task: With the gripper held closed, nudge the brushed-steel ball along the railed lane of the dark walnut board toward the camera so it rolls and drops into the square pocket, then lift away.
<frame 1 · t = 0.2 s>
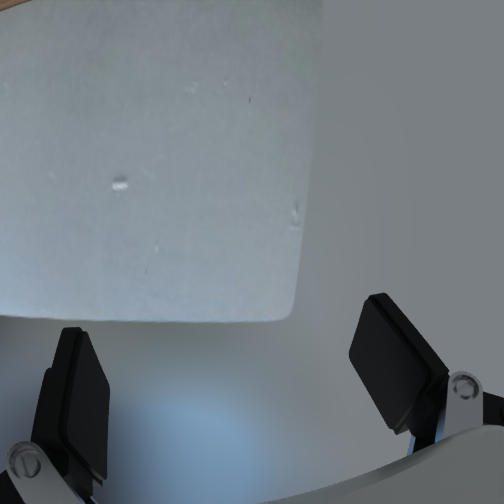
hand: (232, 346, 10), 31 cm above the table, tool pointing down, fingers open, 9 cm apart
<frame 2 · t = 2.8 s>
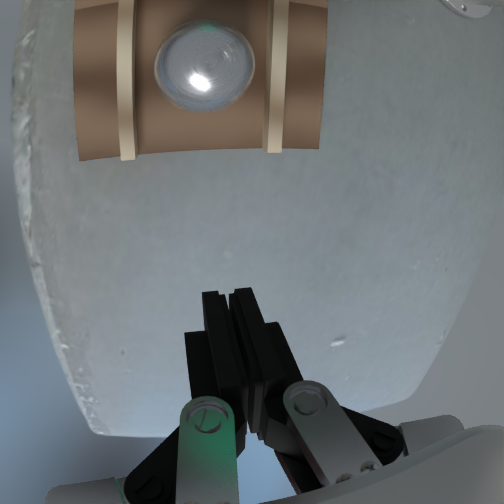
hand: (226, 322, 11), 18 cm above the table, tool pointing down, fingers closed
steel ball: (204, 65, 17), point 6 cm above the table, touching walnut board
walnut board: (200, 10, 19), on the table
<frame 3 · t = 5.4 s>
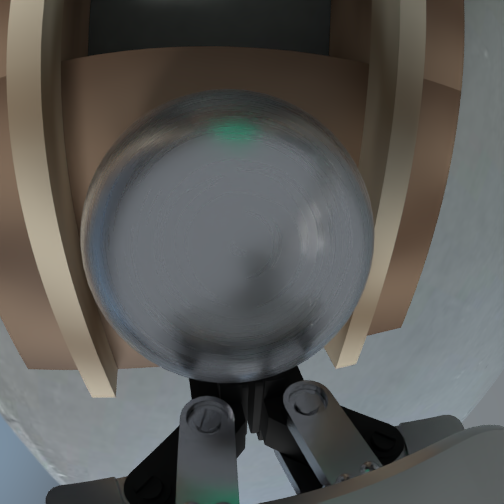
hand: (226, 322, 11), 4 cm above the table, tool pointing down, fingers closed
steel ball: (226, 235, 7), point 6 cm above the table, tilted 25°, touching walnut board
walnut board: (211, 68, 10), on the table
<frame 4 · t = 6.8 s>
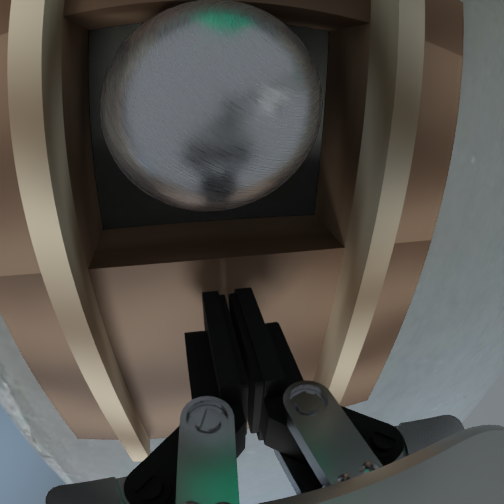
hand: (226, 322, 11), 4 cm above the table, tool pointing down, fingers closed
steel ball: (210, 103, 8), point 3 cm above the table, tilted 130°
walnut board: (211, 231, 13), on the table
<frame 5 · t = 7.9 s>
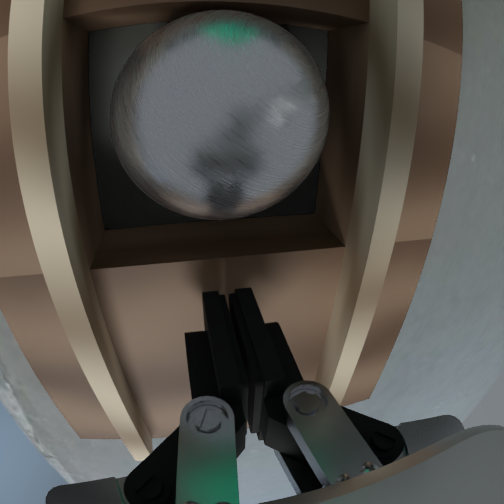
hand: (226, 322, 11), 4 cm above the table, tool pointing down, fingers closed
steel ball: (219, 113, 8), point 3 cm above the table, tilted 131°
walnut board: (212, 231, 13), on the table
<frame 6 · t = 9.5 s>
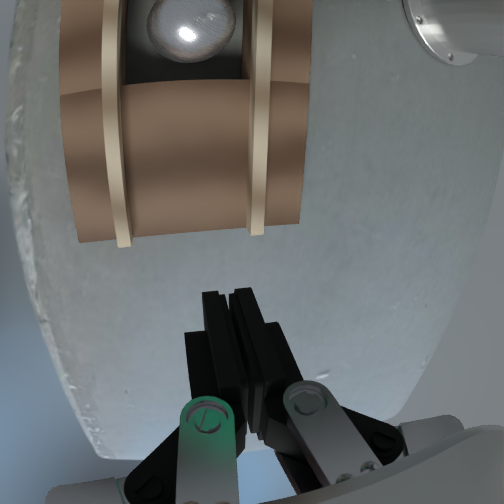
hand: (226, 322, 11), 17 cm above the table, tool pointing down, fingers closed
steel ball: (190, 23, 17), point 3 cm above the table, tilted 131°
walnut board: (183, 87, 22), on the table
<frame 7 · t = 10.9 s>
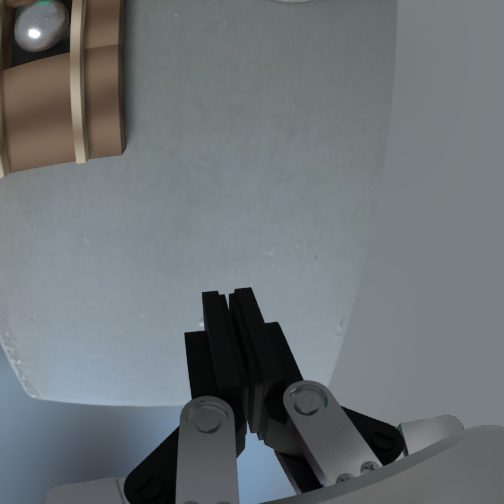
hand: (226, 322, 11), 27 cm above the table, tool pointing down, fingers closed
steel ball: (41, 24, 20), point 3 cm above the table, tilted 130°
walnut board: (45, 65, 25), on the table
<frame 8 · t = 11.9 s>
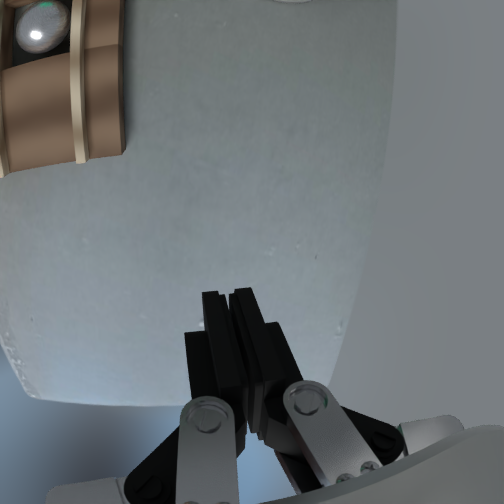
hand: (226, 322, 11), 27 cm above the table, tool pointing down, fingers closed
steel ball: (43, 26, 20), point 3 cm above the table, tilted 129°
walnut board: (45, 65, 25), on the table
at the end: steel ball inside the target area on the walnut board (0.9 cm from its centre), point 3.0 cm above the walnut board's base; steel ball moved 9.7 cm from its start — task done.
